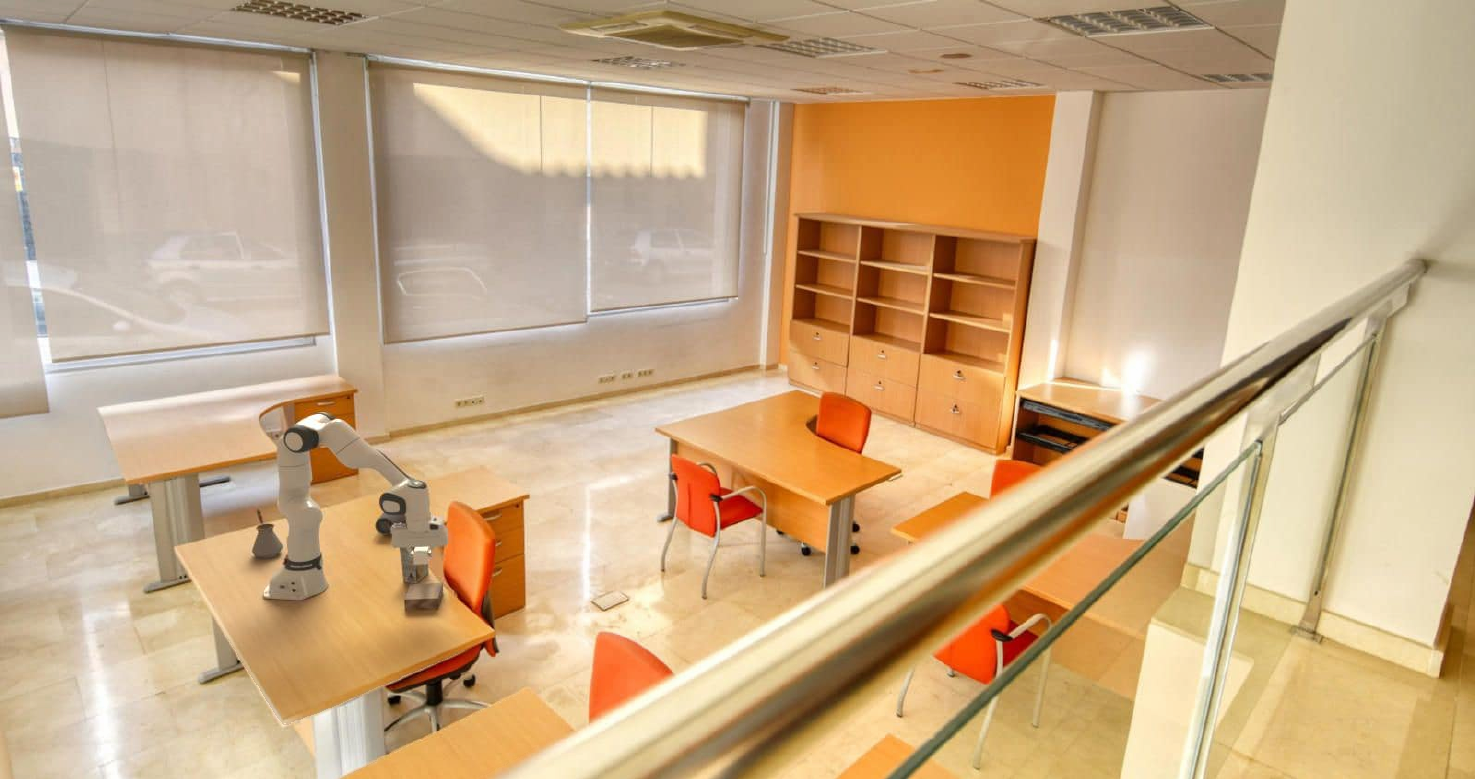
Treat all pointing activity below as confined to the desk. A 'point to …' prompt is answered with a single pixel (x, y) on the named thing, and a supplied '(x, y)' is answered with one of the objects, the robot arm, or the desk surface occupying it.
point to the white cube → (420, 555)
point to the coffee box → (411, 567)
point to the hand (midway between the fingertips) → (421, 556)
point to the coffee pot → (266, 541)
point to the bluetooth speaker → (388, 522)
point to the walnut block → (423, 596)
